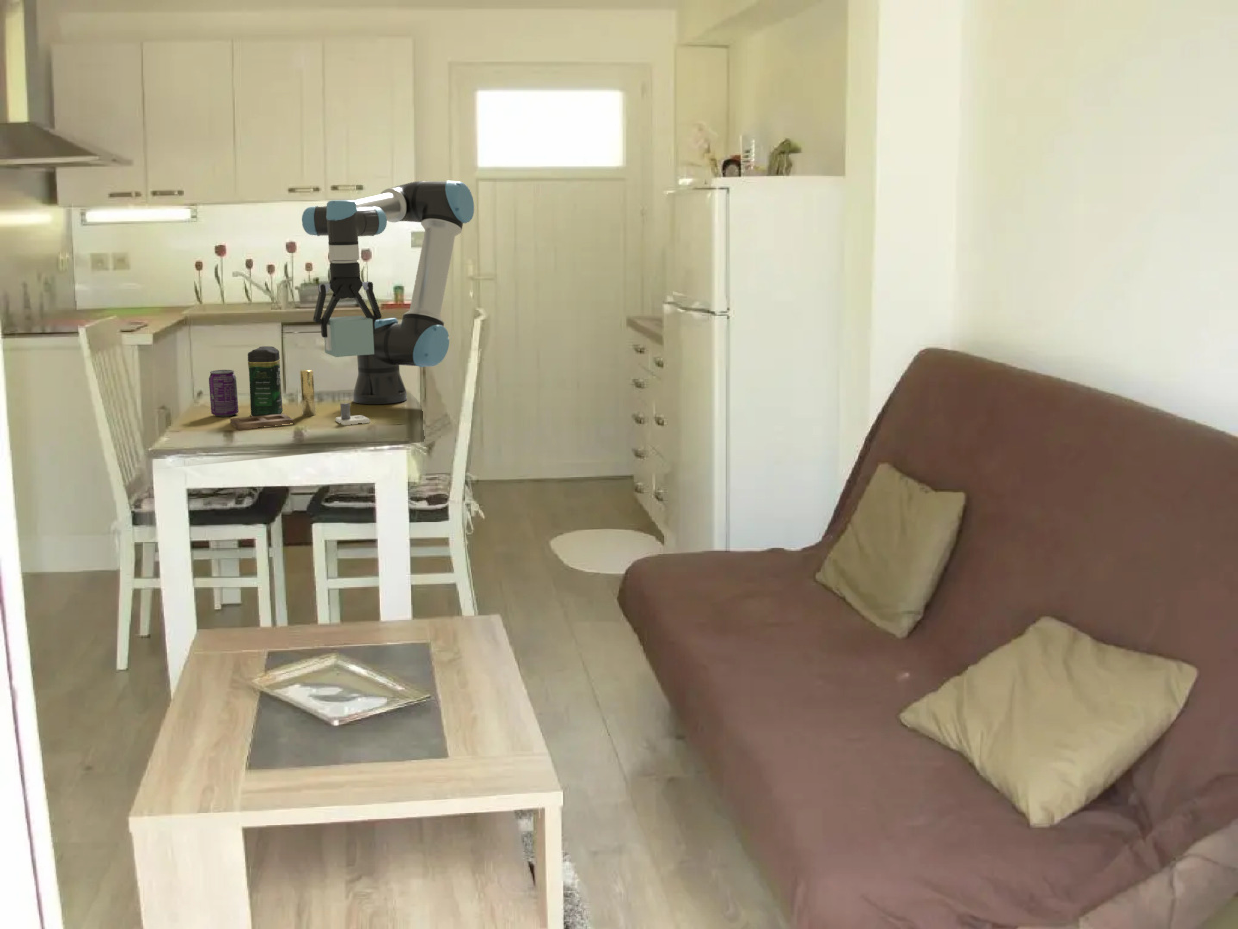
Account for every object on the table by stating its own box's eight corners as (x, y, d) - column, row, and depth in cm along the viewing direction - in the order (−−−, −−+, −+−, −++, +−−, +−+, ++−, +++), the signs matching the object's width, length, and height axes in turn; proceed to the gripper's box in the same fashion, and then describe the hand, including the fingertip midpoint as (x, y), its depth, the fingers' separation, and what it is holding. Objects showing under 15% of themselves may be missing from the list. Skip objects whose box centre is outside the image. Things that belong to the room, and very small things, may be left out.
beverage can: (228, 412, 376) (225, 368, 374) (244, 414, 372) (241, 370, 370) (206, 415, 371) (202, 371, 369) (221, 418, 367) (218, 373, 364)
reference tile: (361, 418, 364) (360, 400, 363) (369, 422, 358) (368, 403, 357) (335, 421, 361) (334, 402, 360) (343, 425, 355) (342, 406, 354)
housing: (362, 349, 362) (360, 315, 360) (374, 354, 354) (372, 319, 352) (325, 352, 358) (323, 318, 356) (336, 357, 349) (334, 321, 347)
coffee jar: (278, 418, 366) (273, 348, 362) (248, 418, 366) (243, 349, 362) (286, 412, 376) (282, 344, 372) (257, 412, 376) (252, 344, 372)
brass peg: (313, 413, 373) (311, 369, 371) (317, 415, 370) (314, 370, 368) (301, 414, 372) (298, 370, 369) (304, 416, 369) (301, 371, 366)
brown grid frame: (284, 418, 365) (283, 413, 365) (293, 424, 356) (293, 419, 356) (230, 423, 359) (230, 418, 358) (239, 429, 350) (238, 424, 350)
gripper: (382, 258, 359) (386, 343, 364) (296, 262, 349) (302, 350, 354) (391, 260, 352) (395, 346, 357) (304, 264, 342) (309, 353, 347)
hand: (349, 348), depth 355 cm, fingers closed on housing, 10 cm apart
